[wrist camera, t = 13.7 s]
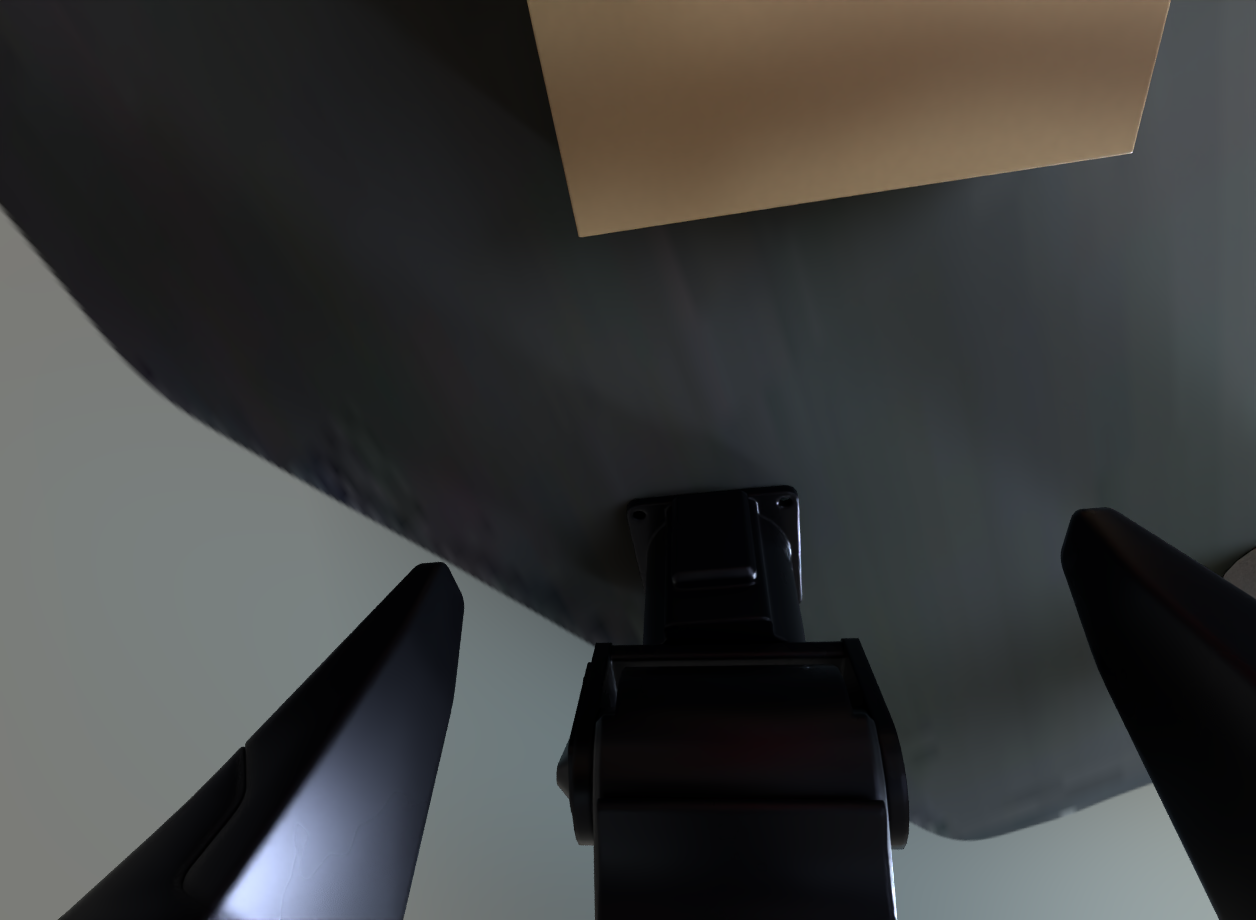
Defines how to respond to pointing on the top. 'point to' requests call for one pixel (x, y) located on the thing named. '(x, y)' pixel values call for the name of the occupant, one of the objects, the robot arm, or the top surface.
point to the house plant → (1244, 573)
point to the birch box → (828, 96)
